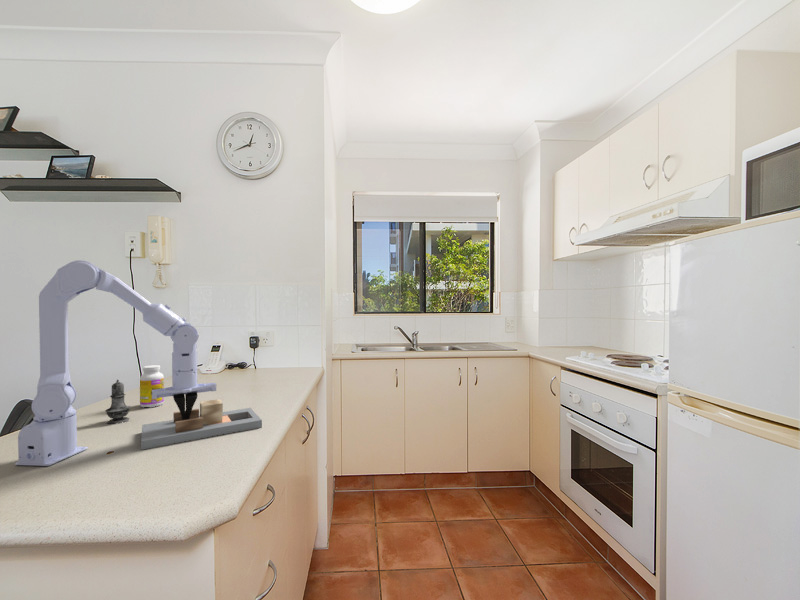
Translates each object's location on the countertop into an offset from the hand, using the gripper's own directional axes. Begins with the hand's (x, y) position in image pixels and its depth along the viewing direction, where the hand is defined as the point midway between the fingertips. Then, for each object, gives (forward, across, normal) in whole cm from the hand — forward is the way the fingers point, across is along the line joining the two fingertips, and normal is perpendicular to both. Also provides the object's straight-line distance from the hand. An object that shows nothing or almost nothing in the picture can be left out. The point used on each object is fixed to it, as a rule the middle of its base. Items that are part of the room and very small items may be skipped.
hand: (185, 422), depth 101 cm
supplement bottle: (+3, -7, +36) cm, 37 cm away
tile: (+3, +8, 0) cm, 8 cm away
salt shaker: (+3, -15, +23) cm, 28 cm away
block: (+1, +6, 0) cm, 6 cm away
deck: (+3, +4, 0) cm, 5 cm away
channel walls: (+1, 0, 0) cm, 1 cm away
